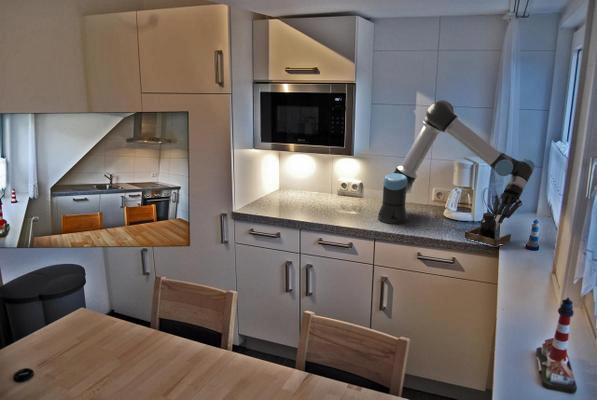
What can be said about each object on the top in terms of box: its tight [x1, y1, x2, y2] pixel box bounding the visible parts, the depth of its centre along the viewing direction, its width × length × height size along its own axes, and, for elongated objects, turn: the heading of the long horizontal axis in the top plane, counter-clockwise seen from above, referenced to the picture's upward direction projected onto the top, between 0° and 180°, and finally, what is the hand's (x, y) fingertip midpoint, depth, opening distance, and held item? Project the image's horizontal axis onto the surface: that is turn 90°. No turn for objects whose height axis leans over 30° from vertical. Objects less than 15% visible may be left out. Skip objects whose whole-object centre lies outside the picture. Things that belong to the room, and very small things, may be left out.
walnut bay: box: [464, 226, 512, 246], centre depth 215 cm, size 15×14×4 cm
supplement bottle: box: [479, 212, 497, 240], centre depth 215 cm, size 7×7×12 cm
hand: (494, 227), depth 217 cm, fingers closed
